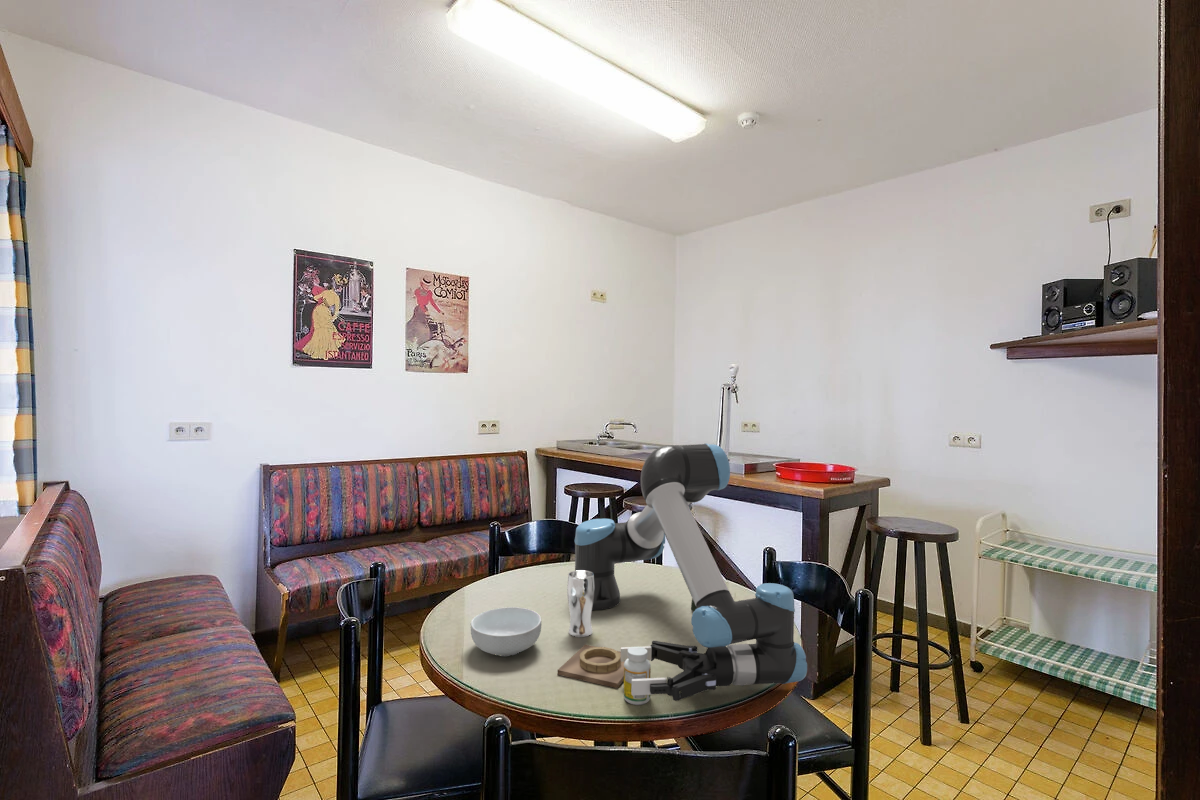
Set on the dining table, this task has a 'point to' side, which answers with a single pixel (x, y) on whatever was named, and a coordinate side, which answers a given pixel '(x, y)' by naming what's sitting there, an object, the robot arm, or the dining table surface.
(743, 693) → the dining table surface
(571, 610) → the silver metal tumbler
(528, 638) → the cereal bowl
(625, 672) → the supplement bottle
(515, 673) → the dining table surface
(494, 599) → the dining table surface
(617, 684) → the collar stand
